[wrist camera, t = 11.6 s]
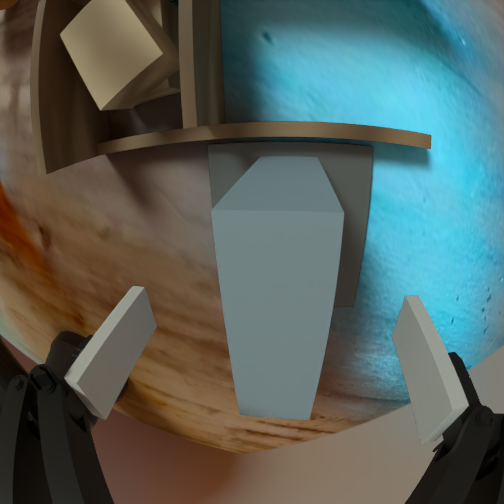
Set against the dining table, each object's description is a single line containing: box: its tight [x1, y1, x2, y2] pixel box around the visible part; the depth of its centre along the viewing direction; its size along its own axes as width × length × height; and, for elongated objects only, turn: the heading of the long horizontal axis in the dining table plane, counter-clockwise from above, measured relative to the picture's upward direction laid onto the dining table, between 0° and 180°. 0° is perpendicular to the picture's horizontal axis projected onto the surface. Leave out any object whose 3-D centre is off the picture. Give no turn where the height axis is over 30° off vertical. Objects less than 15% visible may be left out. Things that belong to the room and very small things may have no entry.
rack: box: [30, 0, 431, 176], centre depth 12 cm, size 26×15×8 cm, turn 93°
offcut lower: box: [135, 0, 181, 106], centre depth 15 cm, size 5×8×4 cm, turn 7°
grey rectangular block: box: [211, 156, 344, 420], centre depth 16 cm, size 4×12×12 cm, turn 3°
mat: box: [207, 142, 373, 307], centre depth 21 cm, size 12×14×1 cm
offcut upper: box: [60, 0, 180, 111], centre depth 12 cm, size 5×8×4 cm, turn 31°
